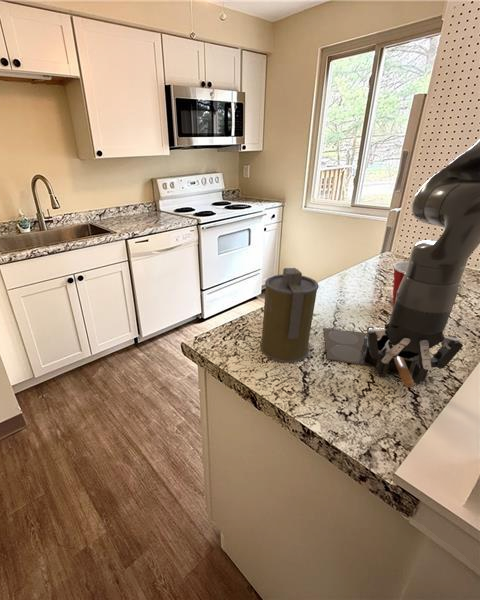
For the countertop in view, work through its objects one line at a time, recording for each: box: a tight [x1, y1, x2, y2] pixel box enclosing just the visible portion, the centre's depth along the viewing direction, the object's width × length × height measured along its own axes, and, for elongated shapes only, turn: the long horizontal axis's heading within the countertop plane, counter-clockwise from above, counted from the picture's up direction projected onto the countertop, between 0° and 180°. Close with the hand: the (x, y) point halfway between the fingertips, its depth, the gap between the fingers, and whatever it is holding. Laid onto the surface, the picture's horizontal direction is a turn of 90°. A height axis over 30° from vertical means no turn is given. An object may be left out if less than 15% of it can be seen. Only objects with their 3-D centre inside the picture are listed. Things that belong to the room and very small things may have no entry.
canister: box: [259, 267, 319, 364], centre depth 69 cm, size 11×10×20 cm
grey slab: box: [323, 327, 376, 368], centre depth 71 cm, size 16×14×1 cm
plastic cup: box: [392, 261, 408, 308], centre depth 83 cm, size 11×11×12 cm
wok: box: [362, 335, 419, 388], centre depth 63 cm, size 10×18×4 cm, turn 155°
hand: (398, 377), depth 61 cm, fingers open, 4 cm apart
